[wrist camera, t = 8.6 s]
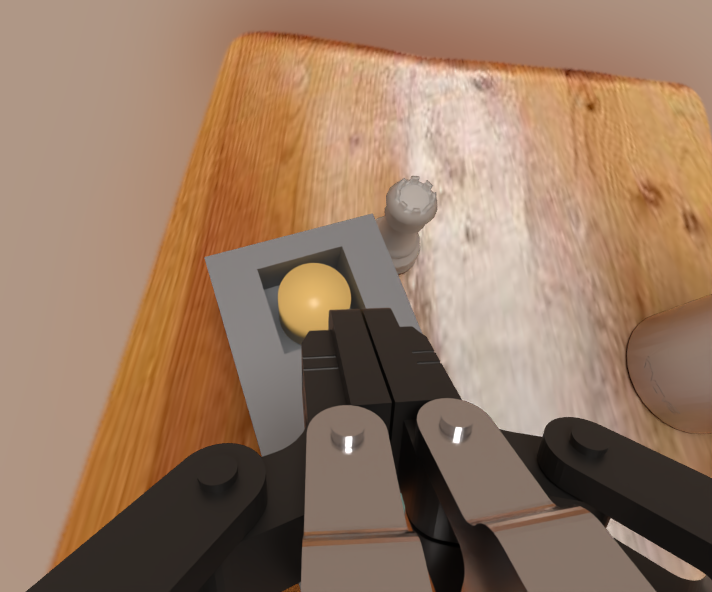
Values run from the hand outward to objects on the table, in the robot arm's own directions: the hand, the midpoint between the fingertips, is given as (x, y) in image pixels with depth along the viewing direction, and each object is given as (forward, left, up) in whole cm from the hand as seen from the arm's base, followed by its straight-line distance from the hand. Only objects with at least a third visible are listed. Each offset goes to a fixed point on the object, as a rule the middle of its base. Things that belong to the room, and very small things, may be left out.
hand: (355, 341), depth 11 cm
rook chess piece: (-9, -9, -20) cm, 23 cm away
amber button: (-1, -5, -16) cm, 17 cm away
